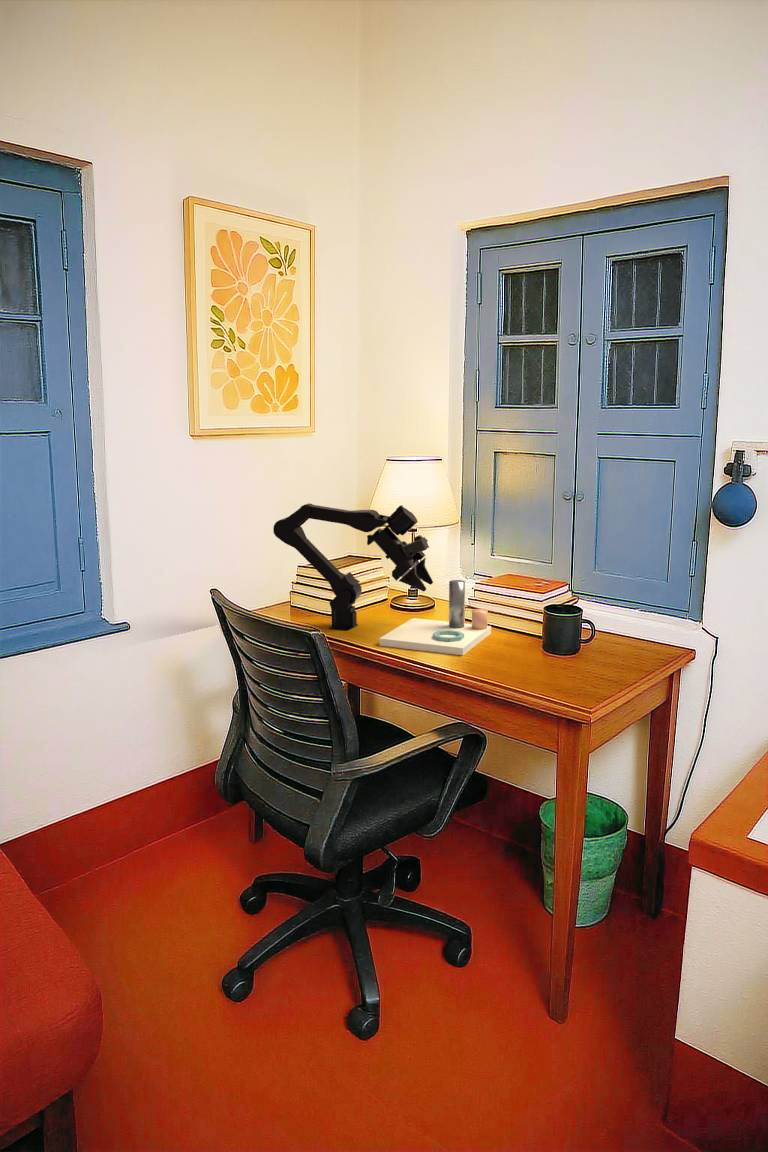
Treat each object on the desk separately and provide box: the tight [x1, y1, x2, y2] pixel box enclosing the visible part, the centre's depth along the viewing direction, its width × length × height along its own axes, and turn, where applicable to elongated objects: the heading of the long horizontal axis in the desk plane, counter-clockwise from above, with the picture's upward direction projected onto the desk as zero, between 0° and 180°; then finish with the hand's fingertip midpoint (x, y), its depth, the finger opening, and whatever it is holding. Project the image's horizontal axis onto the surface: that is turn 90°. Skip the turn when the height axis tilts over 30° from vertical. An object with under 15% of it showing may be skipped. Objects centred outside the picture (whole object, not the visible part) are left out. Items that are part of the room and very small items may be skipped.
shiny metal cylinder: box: [448, 579, 466, 628], centre depth 248 cm, size 4×4×13 cm
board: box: [378, 617, 492, 656], centre depth 244 cm, size 24×24×3 cm
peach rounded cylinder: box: [471, 608, 489, 630], centre depth 247 cm, size 4×4×5 cm
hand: (428, 586), depth 249 cm, fingers open, 9 cm apart
